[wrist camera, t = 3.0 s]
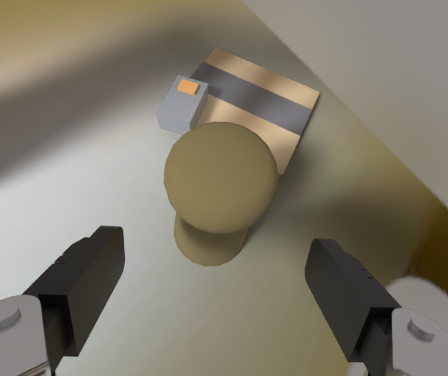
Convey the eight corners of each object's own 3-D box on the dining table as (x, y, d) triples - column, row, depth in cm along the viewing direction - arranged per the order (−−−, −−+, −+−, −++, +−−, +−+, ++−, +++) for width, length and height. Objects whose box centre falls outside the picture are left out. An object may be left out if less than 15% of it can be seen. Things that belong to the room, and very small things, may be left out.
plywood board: (160, 123, 23) (158, 114, 22) (215, 56, 28) (216, 47, 27) (278, 181, 22) (283, 175, 20) (314, 100, 27) (319, 92, 25)
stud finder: (159, 127, 21) (155, 109, 19) (179, 91, 23) (177, 71, 21) (190, 137, 21) (189, 120, 19) (207, 99, 23) (208, 80, 21)
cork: (170, 200, 20) (141, 105, 10) (237, 190, 21) (274, 95, 11) (178, 273, 17) (153, 246, 7) (254, 258, 18) (321, 216, 8)
